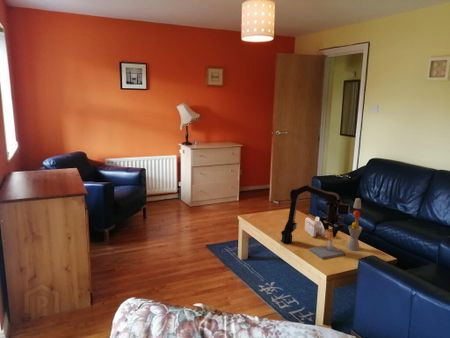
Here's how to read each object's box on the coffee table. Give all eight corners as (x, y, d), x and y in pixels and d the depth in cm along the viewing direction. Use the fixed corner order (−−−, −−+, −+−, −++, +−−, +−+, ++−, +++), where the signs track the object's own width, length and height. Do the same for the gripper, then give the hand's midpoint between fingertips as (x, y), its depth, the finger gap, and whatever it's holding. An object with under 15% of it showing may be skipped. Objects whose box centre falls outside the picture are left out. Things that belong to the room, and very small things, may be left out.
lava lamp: (349, 244, 246) (353, 196, 239) (362, 247, 240) (367, 198, 233) (344, 248, 239) (348, 198, 232) (357, 252, 233) (362, 201, 227)
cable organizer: (325, 237, 257) (327, 222, 255) (312, 238, 255) (313, 223, 253) (316, 230, 272) (317, 215, 269) (303, 231, 269) (304, 216, 267)
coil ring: (329, 239, 226) (330, 233, 225) (322, 235, 232) (323, 229, 231) (338, 237, 228) (338, 232, 228) (331, 234, 235) (331, 228, 234)
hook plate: (322, 259, 222) (323, 245, 220) (309, 250, 235) (309, 237, 233) (344, 255, 229) (346, 241, 227) (331, 246, 241) (332, 234, 239)
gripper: (352, 215, 221) (350, 238, 224) (333, 207, 238) (331, 228, 241) (338, 217, 217) (336, 241, 220) (319, 208, 234) (317, 230, 237)
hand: (330, 235), depth 230 cm, fingers closed on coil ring, 7 cm apart
